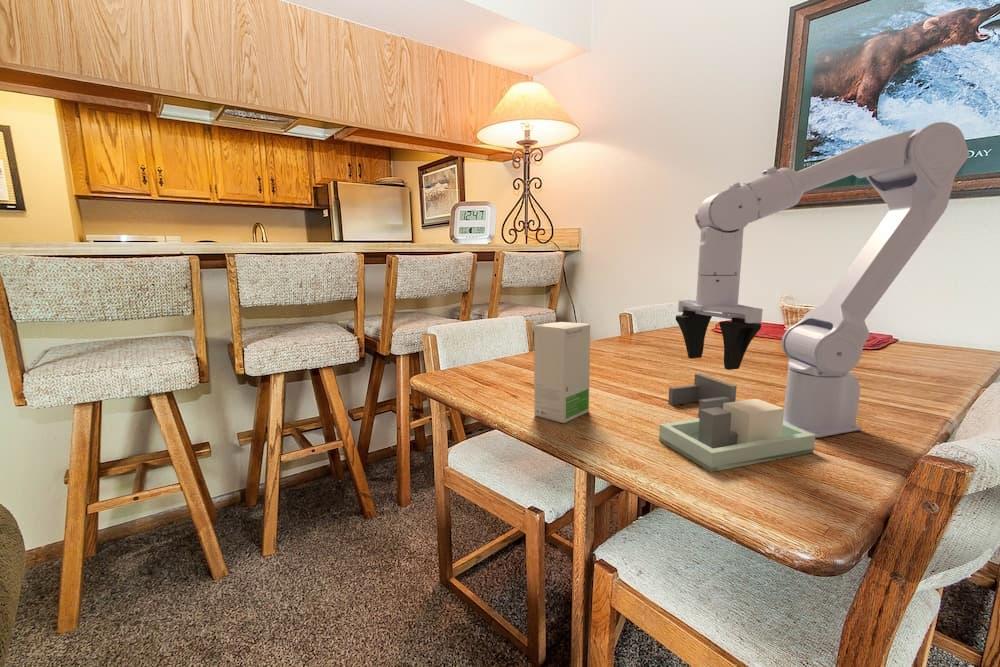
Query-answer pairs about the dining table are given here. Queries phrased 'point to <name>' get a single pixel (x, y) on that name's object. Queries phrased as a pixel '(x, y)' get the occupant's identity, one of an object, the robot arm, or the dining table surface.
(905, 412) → the dining table surface
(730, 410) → the joined block pair
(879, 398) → the dining table surface
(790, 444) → the tray
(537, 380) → the skincare box
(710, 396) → the bay
